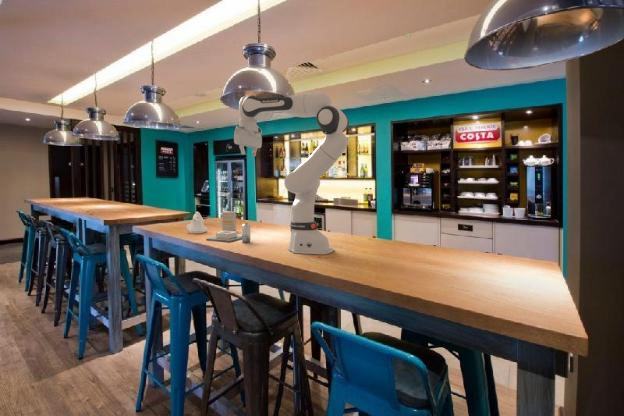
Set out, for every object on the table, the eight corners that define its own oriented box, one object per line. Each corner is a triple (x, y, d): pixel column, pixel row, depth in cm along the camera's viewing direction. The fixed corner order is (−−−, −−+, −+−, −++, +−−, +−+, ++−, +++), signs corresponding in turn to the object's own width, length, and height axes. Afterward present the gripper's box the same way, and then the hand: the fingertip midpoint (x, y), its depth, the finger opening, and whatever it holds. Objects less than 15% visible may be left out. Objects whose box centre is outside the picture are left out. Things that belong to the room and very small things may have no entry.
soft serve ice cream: (210, 232, 236) (214, 212, 233) (198, 238, 222) (202, 217, 219) (194, 227, 238) (197, 207, 235) (181, 232, 224) (184, 211, 221)
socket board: (246, 237, 209) (246, 231, 208) (229, 242, 194) (229, 235, 193) (223, 235, 215) (223, 229, 214) (206, 240, 200) (206, 233, 200)
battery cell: (251, 242, 196) (251, 222, 195) (247, 243, 192) (247, 223, 191) (245, 241, 197) (245, 222, 196) (240, 242, 193) (240, 223, 192)
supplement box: (236, 230, 235) (236, 211, 234) (234, 232, 231) (234, 212, 229) (224, 230, 236) (224, 211, 235) (221, 231, 231) (221, 211, 230)
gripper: (240, 124, 173) (241, 152, 173) (263, 130, 191) (264, 156, 192) (230, 125, 175) (231, 153, 176) (253, 131, 194) (254, 157, 194)
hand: (248, 155), depth 184 cm, fingers open, 8 cm apart
